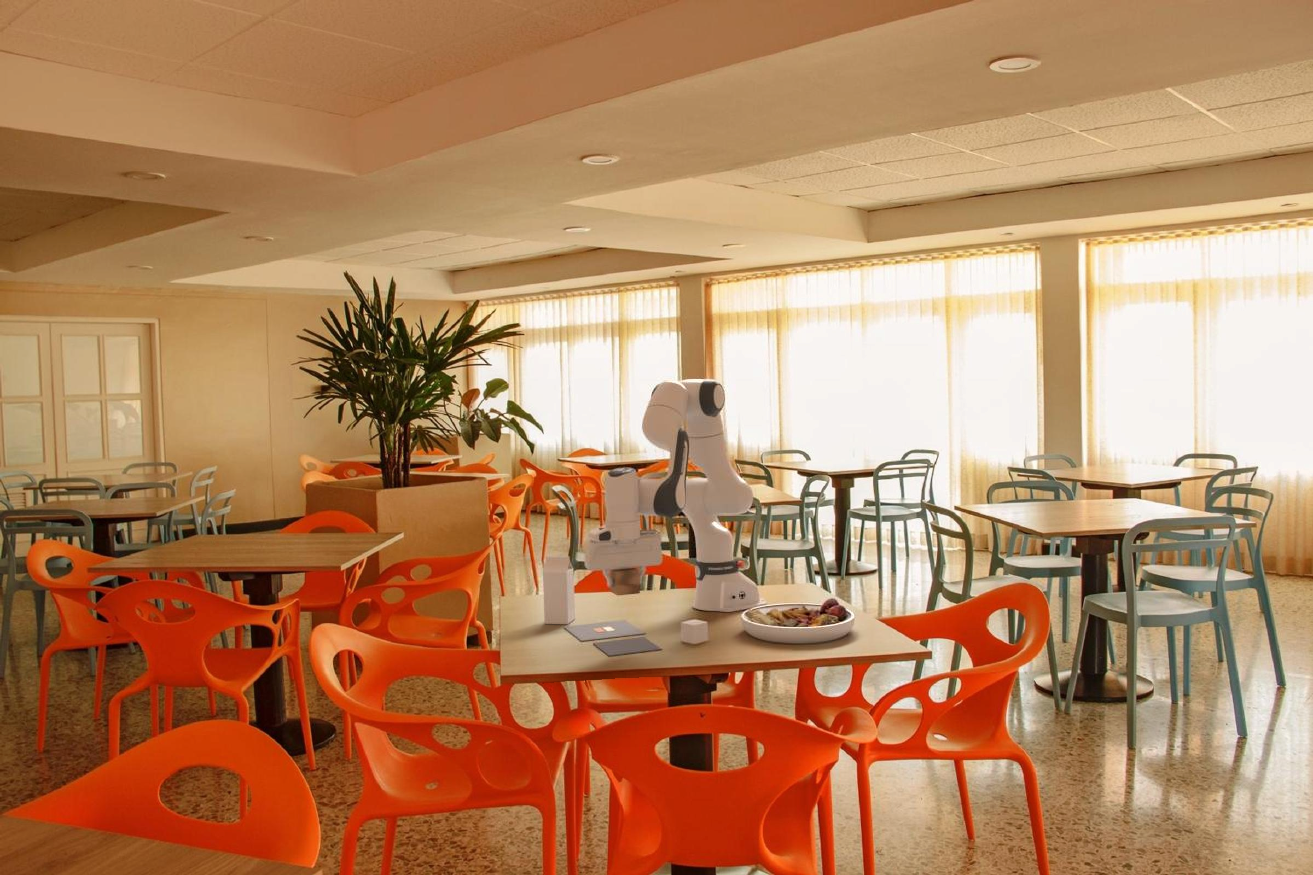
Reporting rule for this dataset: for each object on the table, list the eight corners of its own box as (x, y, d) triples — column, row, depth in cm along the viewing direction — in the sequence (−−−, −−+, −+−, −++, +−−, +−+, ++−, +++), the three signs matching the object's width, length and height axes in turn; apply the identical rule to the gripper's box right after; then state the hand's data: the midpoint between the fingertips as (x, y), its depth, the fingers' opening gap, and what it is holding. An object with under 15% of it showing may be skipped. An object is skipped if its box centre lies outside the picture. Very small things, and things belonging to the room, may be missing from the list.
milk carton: (568, 624, 285) (565, 558, 285) (544, 624, 287) (542, 558, 286) (575, 619, 292) (573, 554, 291) (551, 618, 294) (549, 554, 293)
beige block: (695, 637, 265) (694, 619, 265) (708, 640, 262) (707, 621, 261) (681, 641, 262) (680, 622, 262) (694, 644, 258) (693, 625, 258)
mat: (643, 637, 267) (643, 636, 267) (662, 649, 253) (661, 648, 253) (593, 644, 262) (593, 642, 262) (609, 656, 249) (609, 655, 249)
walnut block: (632, 589, 261) (631, 566, 261) (639, 593, 255) (639, 569, 255) (610, 591, 259) (609, 568, 258) (617, 595, 253) (616, 571, 253)
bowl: (790, 653, 247) (789, 621, 247) (719, 631, 273) (718, 602, 272) (878, 634, 263) (878, 605, 263) (803, 615, 288) (803, 588, 288)
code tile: (624, 620, 288) (624, 619, 288) (645, 634, 271) (645, 632, 271) (563, 627, 282) (563, 626, 282) (581, 641, 265) (581, 640, 265)
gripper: (656, 527, 263) (658, 579, 263) (581, 532, 256) (583, 586, 256) (665, 529, 257) (666, 583, 257) (588, 535, 250) (590, 590, 250)
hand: (624, 585), depth 257 cm, fingers closed on walnut block, 6 cm apart
